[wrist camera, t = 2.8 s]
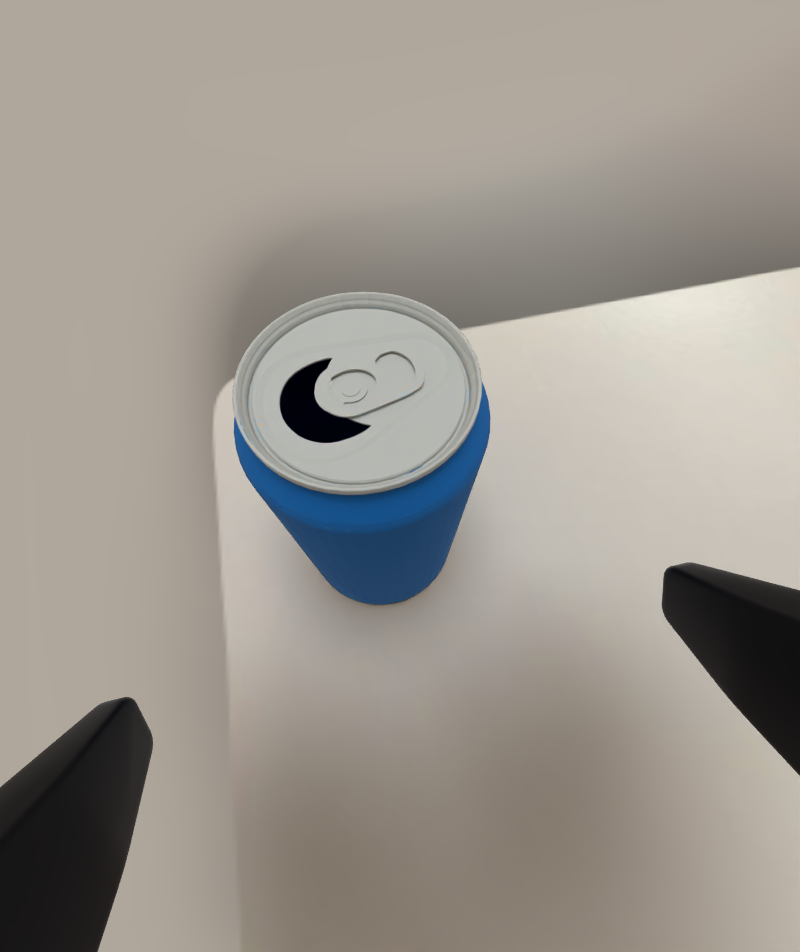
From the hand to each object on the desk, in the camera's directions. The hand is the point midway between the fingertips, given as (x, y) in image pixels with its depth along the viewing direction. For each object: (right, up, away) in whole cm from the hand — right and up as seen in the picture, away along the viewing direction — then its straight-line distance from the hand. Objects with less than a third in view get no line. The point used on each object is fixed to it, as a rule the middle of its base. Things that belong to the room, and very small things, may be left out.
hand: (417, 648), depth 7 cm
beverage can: (-1, 0, +13) cm, 14 cm away
